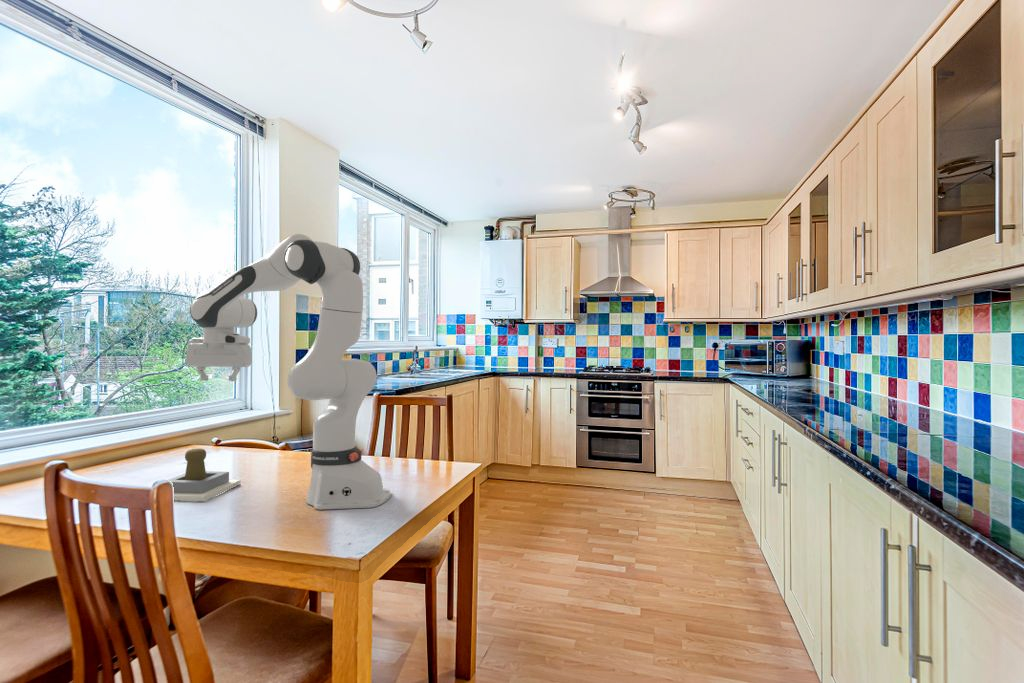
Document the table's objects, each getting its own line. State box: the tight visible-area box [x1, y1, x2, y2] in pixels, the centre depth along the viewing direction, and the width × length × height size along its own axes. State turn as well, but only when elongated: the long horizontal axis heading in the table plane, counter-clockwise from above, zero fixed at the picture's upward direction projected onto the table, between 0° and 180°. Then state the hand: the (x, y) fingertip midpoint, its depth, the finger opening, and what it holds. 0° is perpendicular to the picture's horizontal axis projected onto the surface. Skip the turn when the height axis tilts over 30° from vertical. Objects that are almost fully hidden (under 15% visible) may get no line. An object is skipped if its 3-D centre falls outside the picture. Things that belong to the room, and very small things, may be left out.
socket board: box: [168, 470, 241, 502], centre depth 141 cm, size 16×16×4 cm
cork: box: [184, 448, 207, 481], centre depth 141 cm, size 6×6×11 cm
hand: (218, 381), depth 156 cm, fingers open, 8 cm apart
